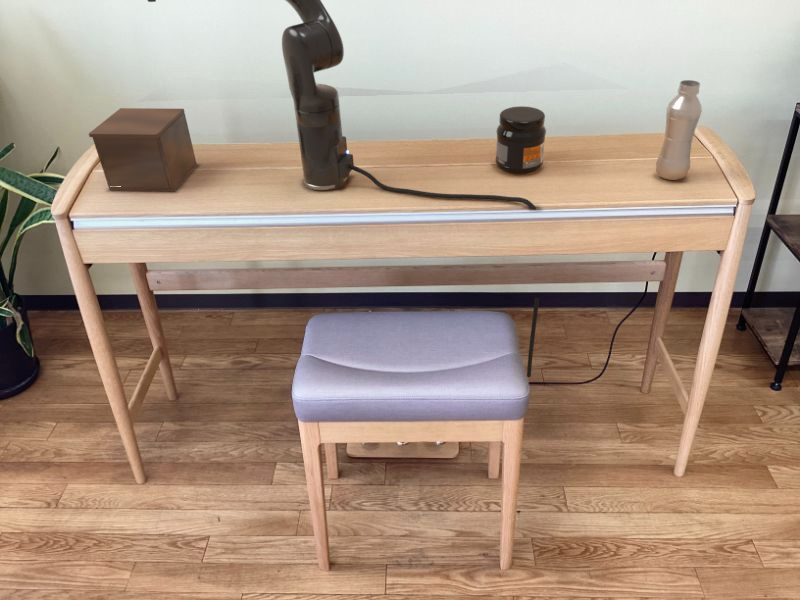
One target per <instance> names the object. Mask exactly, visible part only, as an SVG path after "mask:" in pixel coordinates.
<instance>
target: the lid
mask: <svg viewBox="0 0 800 600" xmlns="http://www.w3.org/2000/svg"><path fill="white" fill-rule="evenodd" d="M183 113H185V108H155V107H153V108H151V107H149V108H147V107H146V108H145V107H144V108H143V107H142V108H140V107H138V108H136V107H135V108H131V107H130V108H128V107H127V108H126V107H124V108H123V107H122V108H119V109H117V110H116V111H115V112H114V113H112V114H111V115H110V116H109V117H108V118H106V119H105V120H103V121H102V122H101V123H100V124H99V125H98V126H96V127H95V128H94V129H92V130H91V131H90V132H89V133H88V137H89V138H92V137H121V138H158V137H159V136H160V135H161V134H162V133H163V132H164V131H165V130H166V129H168V128H169V127H170V126H171V125H172V124H173V123H174V122H175V121H176V120H177V119H178V118H179V117H180V116H181V115H182V114H183Z"/></svg>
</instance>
